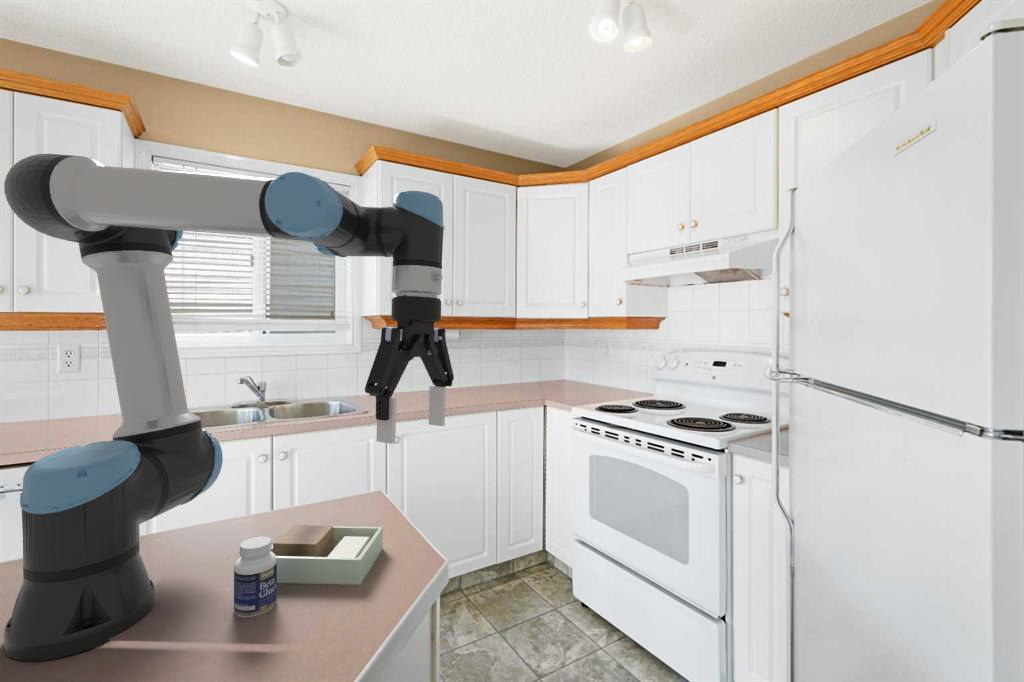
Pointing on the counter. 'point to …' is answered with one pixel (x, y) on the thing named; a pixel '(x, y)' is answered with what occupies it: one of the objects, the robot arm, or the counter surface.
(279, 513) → the counter surface
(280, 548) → the walnut block
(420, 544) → the counter surface
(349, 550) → the white box
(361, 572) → the box
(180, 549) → the counter surface
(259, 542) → the pill bottle
